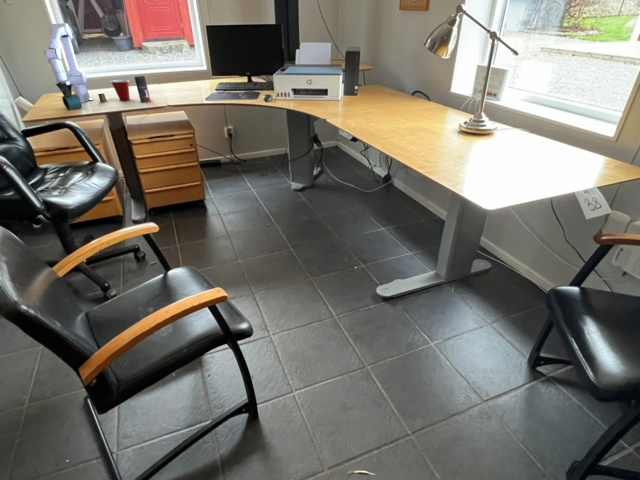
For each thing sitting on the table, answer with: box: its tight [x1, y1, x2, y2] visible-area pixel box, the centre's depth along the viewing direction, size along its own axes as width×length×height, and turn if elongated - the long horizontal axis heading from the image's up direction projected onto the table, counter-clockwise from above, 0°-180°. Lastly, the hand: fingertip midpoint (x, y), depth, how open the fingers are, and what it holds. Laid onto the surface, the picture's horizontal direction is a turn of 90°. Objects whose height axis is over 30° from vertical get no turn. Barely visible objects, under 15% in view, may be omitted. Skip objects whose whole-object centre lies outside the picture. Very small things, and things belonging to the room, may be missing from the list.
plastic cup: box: [110, 79, 130, 102], centre depth 247 cm, size 11×11×12 cm
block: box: [97, 91, 107, 103], centre depth 246 cm, size 4×4×6 cm
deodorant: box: [134, 75, 152, 104], centre depth 241 cm, size 6×6×15 cm
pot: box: [61, 92, 83, 111], centre depth 230 cm, size 10×8×7 cm
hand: (68, 96), depth 228 cm, fingers closed on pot, 5 cm apart
